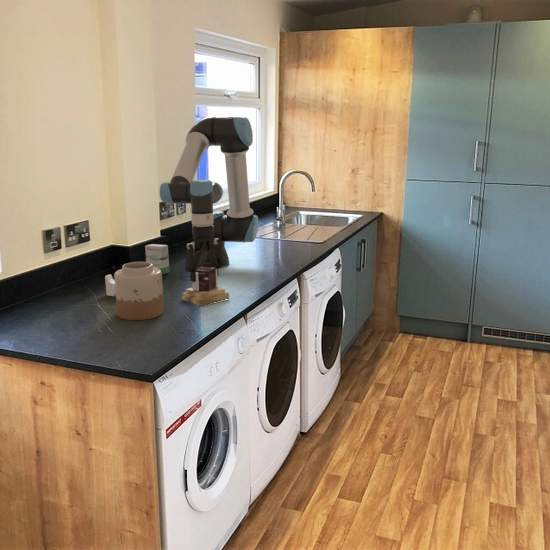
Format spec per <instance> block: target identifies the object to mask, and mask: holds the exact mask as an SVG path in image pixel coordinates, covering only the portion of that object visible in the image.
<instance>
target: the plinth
mask: <svg viewBox="0 0 550 550" xmlns="http://www.w3.org/2000/svg"><path fill="white" fill-rule="evenodd" d="M225 299H229V300H230V292H227V291H226V288H223V287H221V286H216V288H214V289H212V290H210V291H200V290H199V291H195V290H193V286H192V287H187V288H185V291H184V292H181V300H182V301H185V302H188V303H190V304H194V305H196V304H197V306H199V305H200V306H199V307H202V306H203V307H205V306H204V305H207V306H209V305H208V304H211V303H214V302H218V301H221V300H225ZM218 303H219V302H218ZM214 304H215V303H214ZM211 305H212V304H211Z"/></svg>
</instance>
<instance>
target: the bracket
mask: <svg viewBox="0 0 550 550" xmlns="http://www.w3.org/2000/svg"><path fill="white" fill-rule="evenodd" d="M104 279H105V280H104V281H105V292H106V296H110V297H116V292H115V279H114V277H113V275H112V274H107V275H105V277H104Z"/></svg>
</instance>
